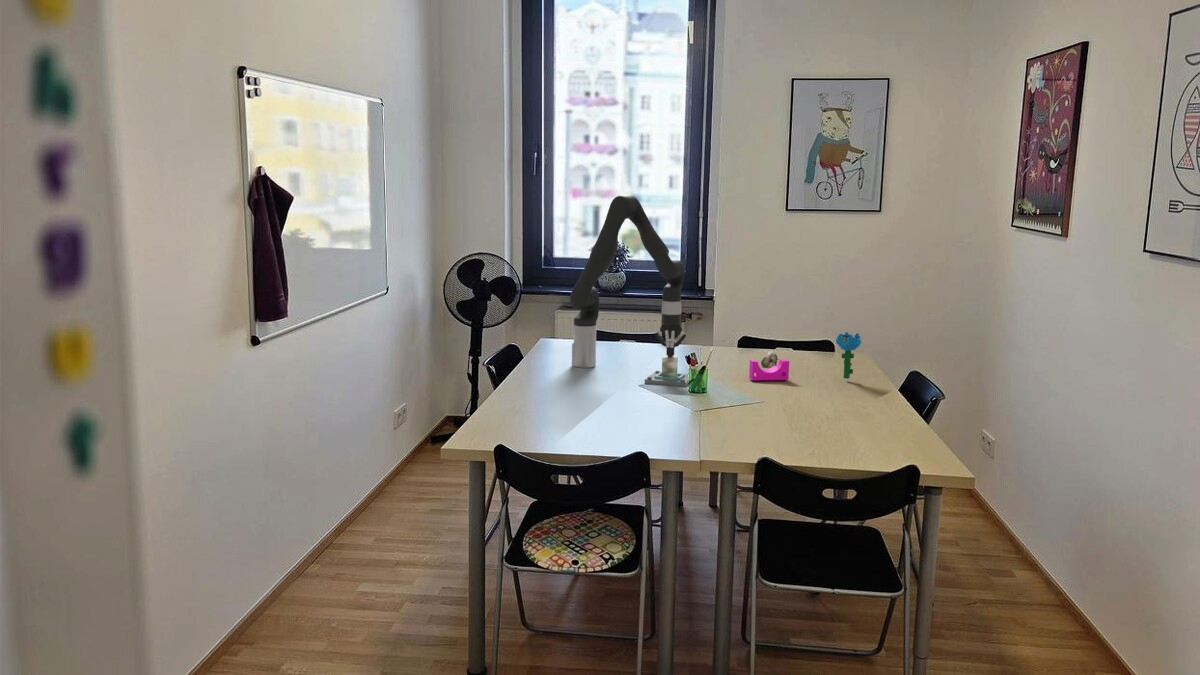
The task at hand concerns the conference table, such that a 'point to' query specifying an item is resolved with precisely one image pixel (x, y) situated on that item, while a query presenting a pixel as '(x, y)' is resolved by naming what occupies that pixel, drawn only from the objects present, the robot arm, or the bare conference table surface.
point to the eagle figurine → (769, 359)
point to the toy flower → (848, 350)
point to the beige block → (669, 366)
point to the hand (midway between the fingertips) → (670, 356)
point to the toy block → (769, 371)
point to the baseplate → (667, 379)
